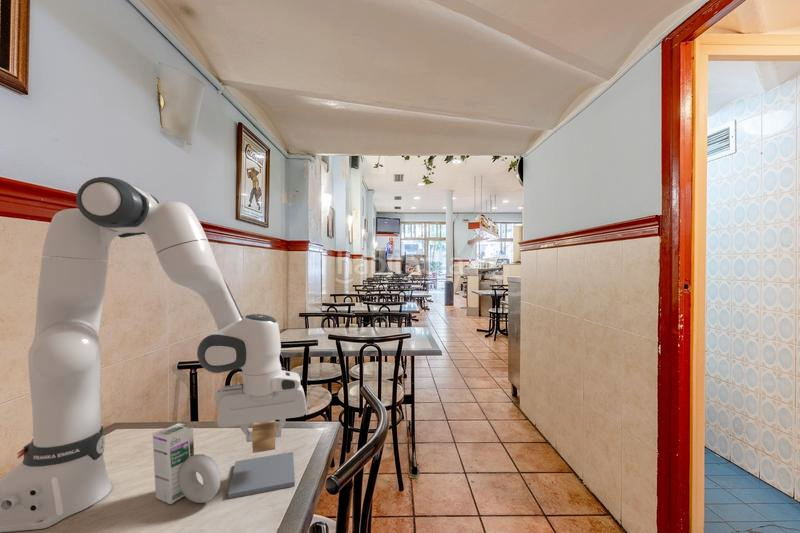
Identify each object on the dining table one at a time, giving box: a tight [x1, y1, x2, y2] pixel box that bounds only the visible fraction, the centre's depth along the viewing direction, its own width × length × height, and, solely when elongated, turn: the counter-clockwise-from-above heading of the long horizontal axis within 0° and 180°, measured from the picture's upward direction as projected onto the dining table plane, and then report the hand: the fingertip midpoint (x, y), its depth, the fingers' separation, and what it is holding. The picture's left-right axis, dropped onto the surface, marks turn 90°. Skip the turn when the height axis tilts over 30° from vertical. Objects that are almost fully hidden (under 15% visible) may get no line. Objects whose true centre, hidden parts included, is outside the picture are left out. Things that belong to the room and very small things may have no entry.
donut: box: [179, 453, 222, 504], centre depth 79 cm, size 10×4×10 cm, turn 73°
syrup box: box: [152, 422, 195, 505], centre depth 82 cm, size 6×6×14 cm
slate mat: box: [227, 451, 296, 499], centre depth 89 cm, size 14×14×1 cm
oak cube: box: [251, 420, 277, 454], centre depth 89 cm, size 5×5×5 cm
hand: (264, 438), depth 89 cm, fingers closed on oak cube, 5 cm apart
